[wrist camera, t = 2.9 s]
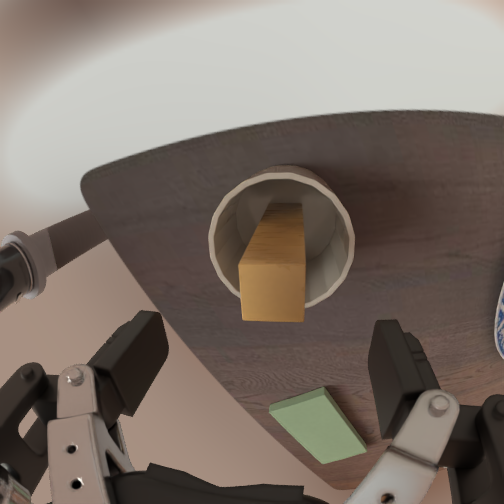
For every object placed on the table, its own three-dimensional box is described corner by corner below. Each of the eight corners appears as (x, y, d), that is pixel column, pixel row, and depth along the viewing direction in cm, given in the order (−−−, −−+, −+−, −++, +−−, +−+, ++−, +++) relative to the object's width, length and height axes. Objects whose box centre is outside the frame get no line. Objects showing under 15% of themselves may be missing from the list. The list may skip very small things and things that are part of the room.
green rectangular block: (269, 404, 36) (268, 412, 34) (324, 386, 33) (324, 394, 32) (322, 457, 40) (322, 464, 38) (366, 444, 37) (367, 451, 36)
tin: (236, 267, 29) (216, 309, 22) (230, 166, 26) (202, 176, 18) (336, 268, 28) (348, 311, 20) (339, 165, 24) (357, 173, 17)
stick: (269, 235, 27) (242, 320, 14) (268, 203, 26) (238, 264, 13) (302, 235, 27) (303, 322, 14) (302, 203, 26) (306, 264, 13)
